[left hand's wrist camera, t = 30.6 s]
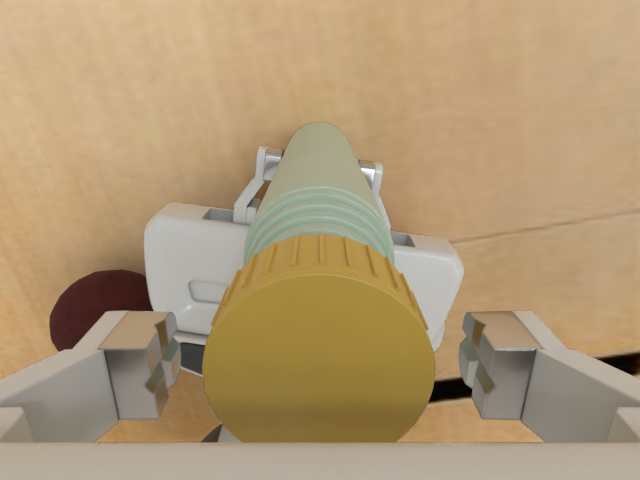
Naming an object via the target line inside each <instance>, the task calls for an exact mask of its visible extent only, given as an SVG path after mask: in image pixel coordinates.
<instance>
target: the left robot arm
mask: <svg viewBox="0 0 640 480" xmlns="http://www.w3.org/2000/svg"><path fill="white" fill-rule="evenodd" d="M177 328H178V327H177V322H176V316H175V315H174V313H173V312H162V311H108V312H105V313H104V314H103V316H102V317H101V318H100V319H99V320H98V321H97V322H96V323H95V324H94V326H93V327H92V328H91V329H90V330H89V331H88V332H87V333H86V334H85V335H84V337H83V338H82V339H81V340H80V341H79V342H78V343H77V344H76V345H75V347H74V348H73V349H65V350H63V351H60V352H58V353H56V354H54V355H52V356H49V357H47V358H45V359H43V360H41V361H39V362H36V363H34V364H32V365H30V366H28V367H26V368H23V369H21V370H19V371H17V372H15V373H12V374H10V375H8V376H6V377H4V378H2V379H0V480H640V379H638V378H636V377H634V376H632V375H630V374H627V373H625V372H623V371H621V370H619V369H617V368H614V367H612V366H610V365H608V364H606V363H604V362H601V361H599V360H597V359H595V358H593V357H590V356H588V355H586V354H584V353H582V352H580V351H577V350H575V349H567V348H566V347H565V345H564V344H563V343H562V342H561V341H560V340H559V339H558V338H557V337H556V335H555V334H554V333H553V332H552V331H551V330H550V329H549V328H548V327H547V326H546V324H545V323H544V322H543V321H542V320H541V319H540V318H539V317H538V316H537V314H536V313H535V312H532V311H530V310H528V311H494V312H467V313H466V314H465V317H464V321H463V327H462V328H463V330H464V332H465V334H466V336H467V337H466V338H465V339H464V341H463V342H462V343H461V344H460V350H459V365H460V371H461V375H462V377H463V380H464V382H465V384H466V385H468V386H469V387H471V388H472V389H473V391H472V399H473V401H474V403H475V406H476V408H477V410H478V412H479V414H480V416H481V418H482V419H498V420H521V422H522V423H523V424H524V425H525V426H527V427H528V428H529V429H530V430H532V431H533V432H534V433H535V434H536V435H538V436H539V437H540V438H541V439H542V440H544V441H545V442H95V441H96V440H98V439H99V438H100V437H101V436H103V435H104V434H105V433H106V432H107V431H109V430H110V429H111V428H112V427H114V426H115V425H116V424H117V423H118V422H119V420H141V419H158V418H159V416H160V414H161V412H162V410H163V408H164V406H165V403H166V401H167V399H168V391H167V389H168V388H169V387H171V386H172V385H174V384H175V382H176V380H177V377H178V375H179V370H180V365H181V349H180V344H179V343H178V342H177V341H176V339H175V338H174V337H173V336H174V334H175V332H176V330H177Z"/></svg>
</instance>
